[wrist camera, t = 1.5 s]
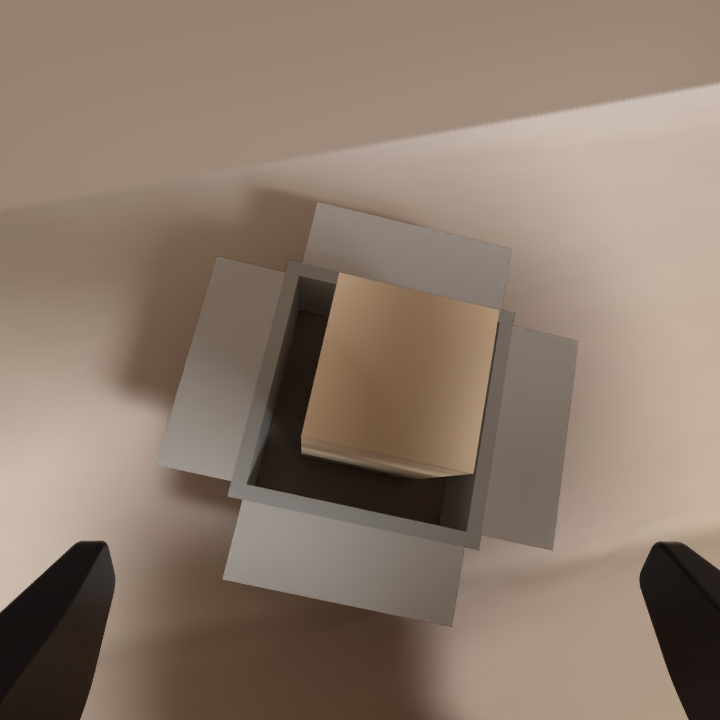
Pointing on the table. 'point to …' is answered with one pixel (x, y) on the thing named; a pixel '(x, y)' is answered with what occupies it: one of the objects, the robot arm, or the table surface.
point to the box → (400, 381)
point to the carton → (347, 523)
